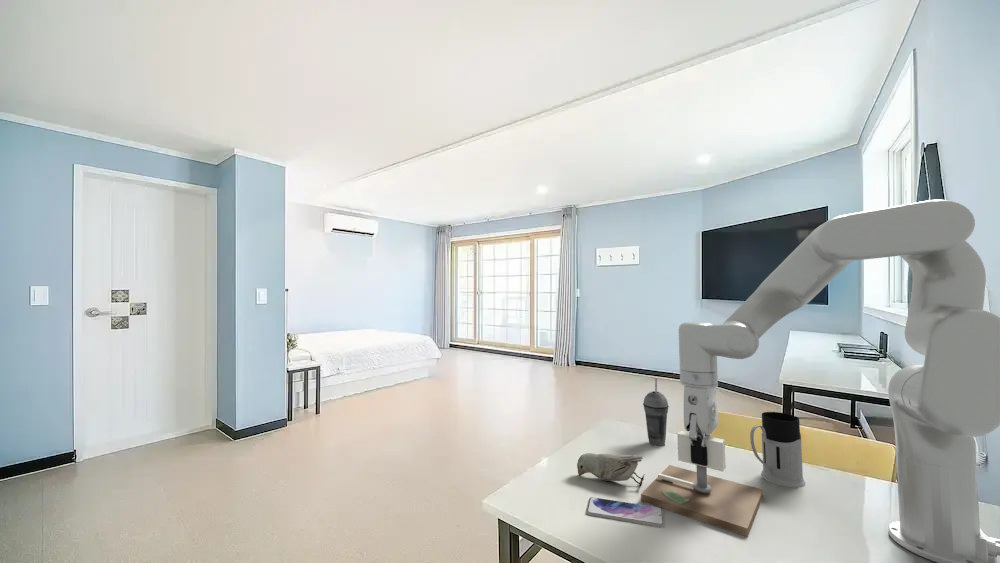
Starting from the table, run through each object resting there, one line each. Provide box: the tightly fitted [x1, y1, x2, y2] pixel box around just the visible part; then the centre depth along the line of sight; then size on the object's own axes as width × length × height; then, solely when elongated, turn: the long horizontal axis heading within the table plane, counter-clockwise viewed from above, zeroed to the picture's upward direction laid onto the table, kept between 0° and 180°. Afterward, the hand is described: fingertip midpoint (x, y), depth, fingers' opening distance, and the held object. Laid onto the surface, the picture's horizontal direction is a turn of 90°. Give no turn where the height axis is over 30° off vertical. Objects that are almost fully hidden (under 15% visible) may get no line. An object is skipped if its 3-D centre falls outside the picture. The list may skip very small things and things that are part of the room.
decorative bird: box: [576, 452, 646, 489], centre depth 95 cm, size 5×16×8 cm, turn 64°
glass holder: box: [749, 411, 806, 489], centre depth 94 cm, size 9×14×15 cm, turn 109°
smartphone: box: [585, 496, 665, 528], centre depth 81 cm, size 7×1×15 cm
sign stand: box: [657, 430, 727, 493], centre depth 88 cm, size 14×4×12 cm, turn 49°
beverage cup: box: [642, 377, 670, 448], centre depth 119 cm, size 7×7×20 cm
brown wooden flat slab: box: [640, 464, 764, 537], centre depth 86 cm, size 20×19×2 cm
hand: (701, 460), depth 86 cm, fingers closed on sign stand, 2 cm apart
